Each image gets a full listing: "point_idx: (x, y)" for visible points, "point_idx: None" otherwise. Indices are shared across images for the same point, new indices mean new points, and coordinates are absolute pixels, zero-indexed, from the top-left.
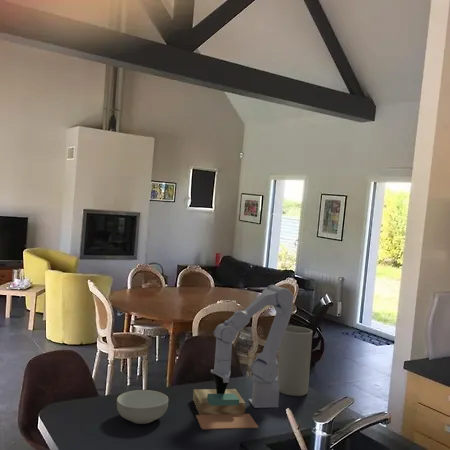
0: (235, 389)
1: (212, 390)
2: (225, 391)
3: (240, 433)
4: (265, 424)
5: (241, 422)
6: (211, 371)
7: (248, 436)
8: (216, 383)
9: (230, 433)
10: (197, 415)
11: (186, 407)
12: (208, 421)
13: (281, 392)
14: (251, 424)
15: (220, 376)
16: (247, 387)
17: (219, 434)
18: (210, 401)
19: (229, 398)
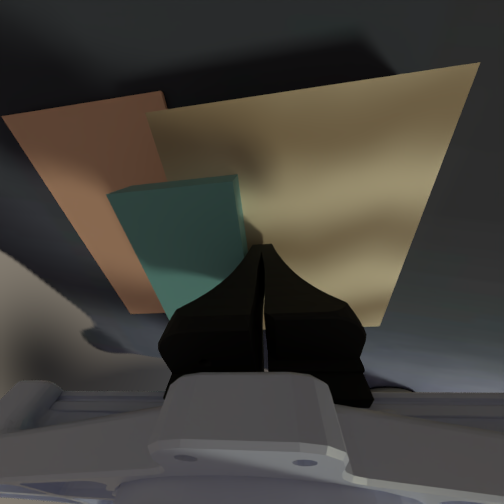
0: (373, 325)
1: (394, 226)
2: (357, 287)
3: (68, 265)
4: (162, 328)
5: (144, 281)
6: (179, 428)
7: (60, 281)
8: (216, 291)
9: (48, 236)
10: (156, 102)
11: (291, 20)
12: (102, 161)
13: (371, 391)
14: (141, 302)
15: (40, 434)
16: (457, 340)
17: (13, 196)
18: (128, 189)
19: (176, 298)
